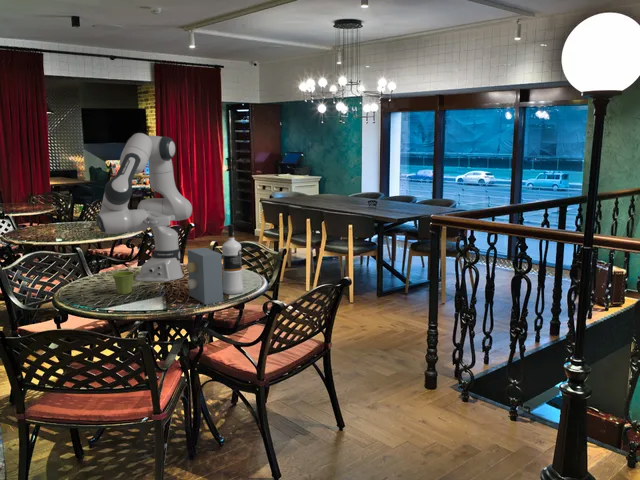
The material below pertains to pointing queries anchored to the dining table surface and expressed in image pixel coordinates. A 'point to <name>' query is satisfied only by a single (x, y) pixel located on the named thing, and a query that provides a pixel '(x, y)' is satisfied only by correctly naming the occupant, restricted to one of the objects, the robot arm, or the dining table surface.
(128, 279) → the plant pot
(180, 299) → the dining table surface
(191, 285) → the knob lower
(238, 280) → the vodka
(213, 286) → the console
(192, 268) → the knob upper
